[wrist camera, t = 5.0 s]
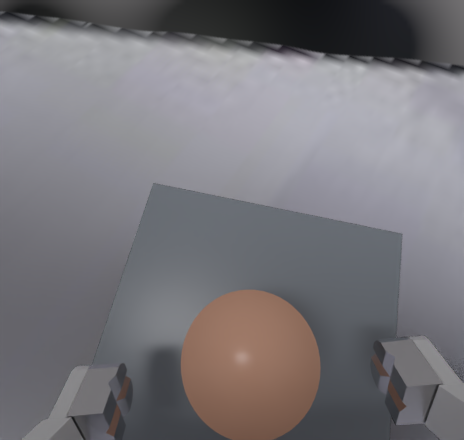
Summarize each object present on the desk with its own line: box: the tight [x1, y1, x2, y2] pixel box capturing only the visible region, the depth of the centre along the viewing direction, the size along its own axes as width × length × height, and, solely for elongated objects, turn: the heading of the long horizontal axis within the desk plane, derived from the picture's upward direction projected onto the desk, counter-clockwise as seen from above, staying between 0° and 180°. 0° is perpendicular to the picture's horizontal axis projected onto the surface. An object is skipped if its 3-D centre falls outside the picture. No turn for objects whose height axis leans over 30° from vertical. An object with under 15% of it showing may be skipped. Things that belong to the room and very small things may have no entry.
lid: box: [92, 183, 402, 440], centre depth 11 cm, size 13×13×10 cm
